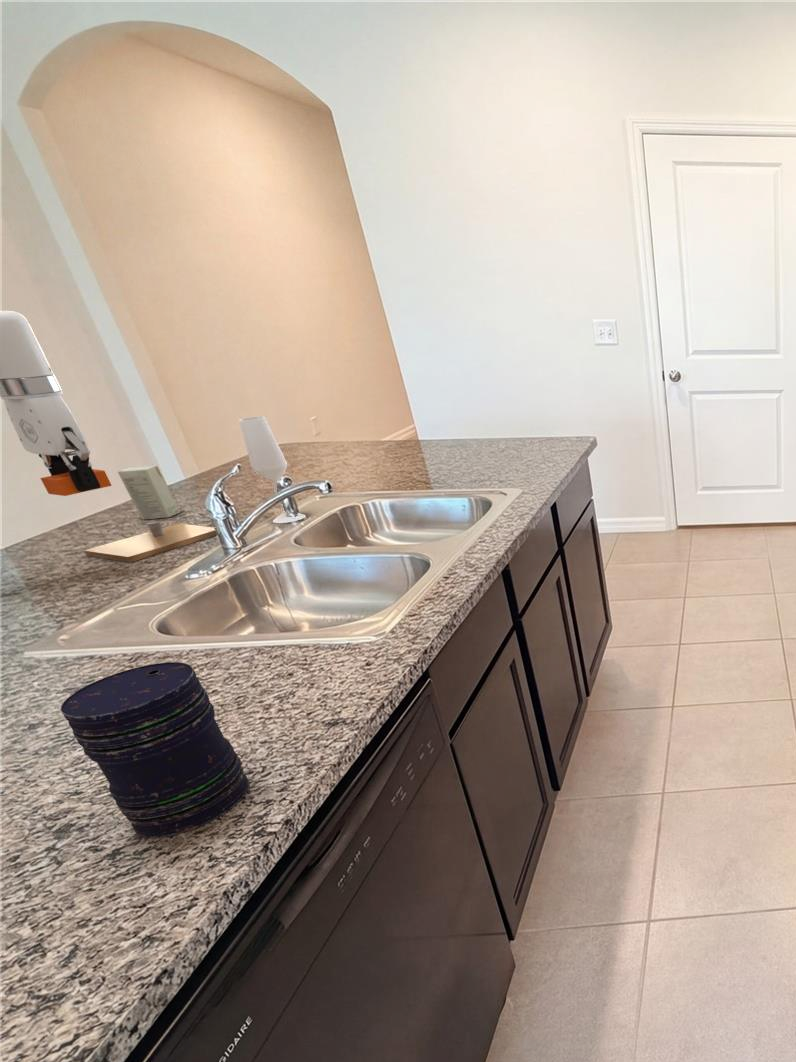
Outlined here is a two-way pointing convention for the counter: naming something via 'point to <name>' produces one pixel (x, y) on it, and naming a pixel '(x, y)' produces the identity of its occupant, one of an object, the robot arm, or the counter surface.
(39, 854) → the counter surface
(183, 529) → the base pad
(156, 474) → the cosmetic box
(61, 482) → the orange block
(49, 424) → the robot arm
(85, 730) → the stacked disc cylinder
